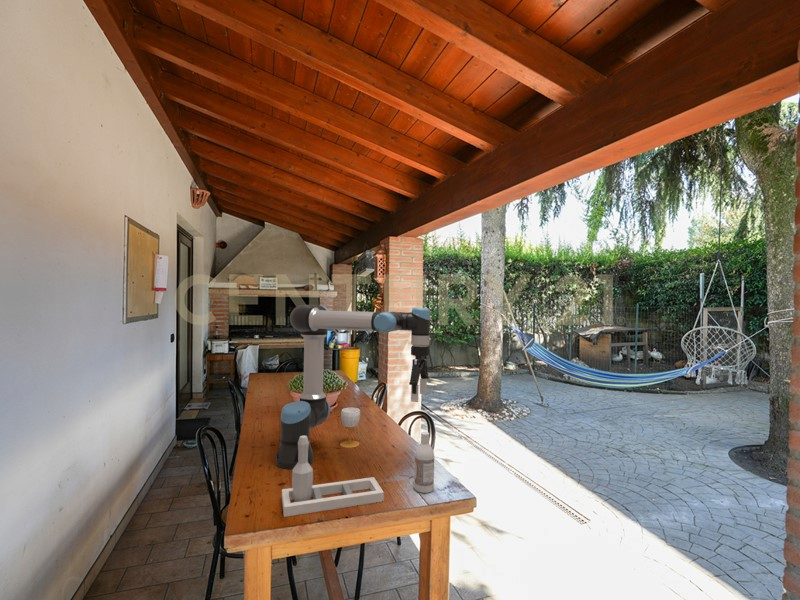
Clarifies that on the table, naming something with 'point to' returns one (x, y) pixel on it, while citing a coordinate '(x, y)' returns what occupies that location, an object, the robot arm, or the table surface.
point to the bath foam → (424, 466)
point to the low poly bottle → (302, 473)
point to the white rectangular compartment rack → (333, 502)
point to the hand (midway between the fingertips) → (419, 397)
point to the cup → (350, 424)
